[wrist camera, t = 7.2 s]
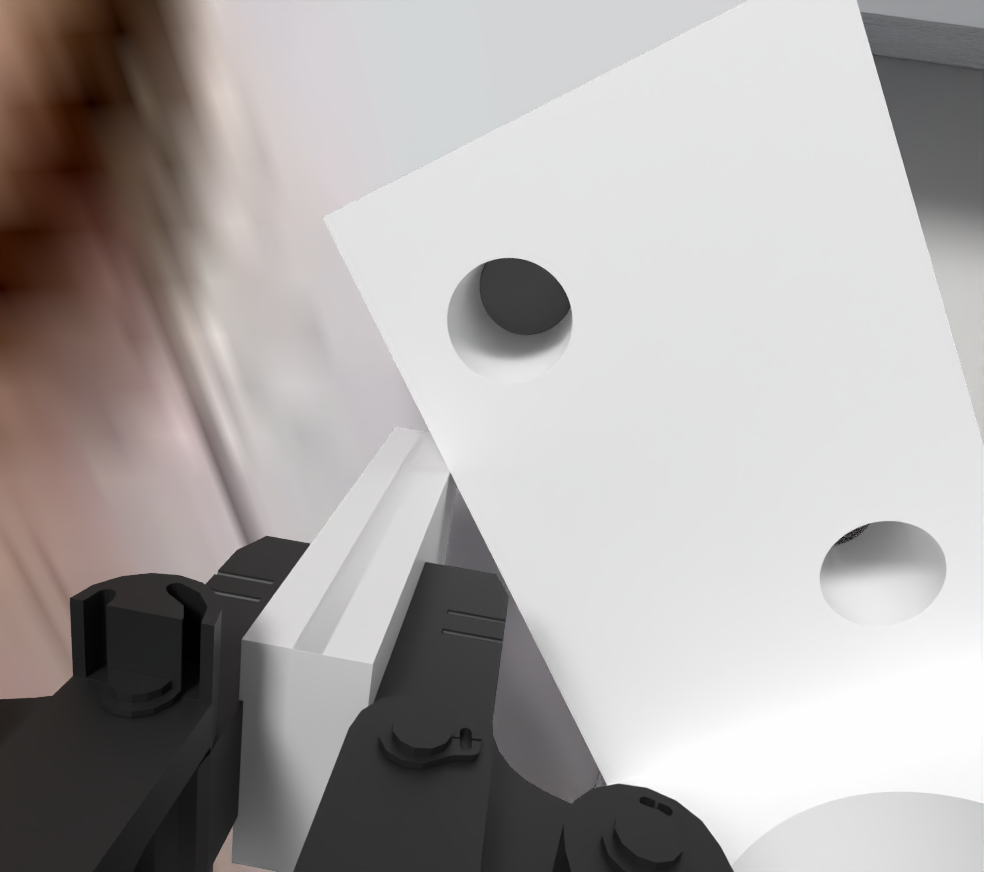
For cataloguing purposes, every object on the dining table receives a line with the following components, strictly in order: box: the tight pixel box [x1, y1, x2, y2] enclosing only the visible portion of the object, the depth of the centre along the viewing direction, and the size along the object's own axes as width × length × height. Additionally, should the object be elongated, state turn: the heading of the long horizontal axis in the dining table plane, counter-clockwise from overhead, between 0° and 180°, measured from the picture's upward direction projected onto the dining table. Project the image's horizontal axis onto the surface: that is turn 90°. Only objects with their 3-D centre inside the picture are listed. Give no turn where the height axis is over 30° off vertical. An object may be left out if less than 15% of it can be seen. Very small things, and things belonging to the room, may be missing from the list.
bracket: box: [323, 0, 984, 872], centre depth 11 cm, size 13×7×8 cm, turn 25°
